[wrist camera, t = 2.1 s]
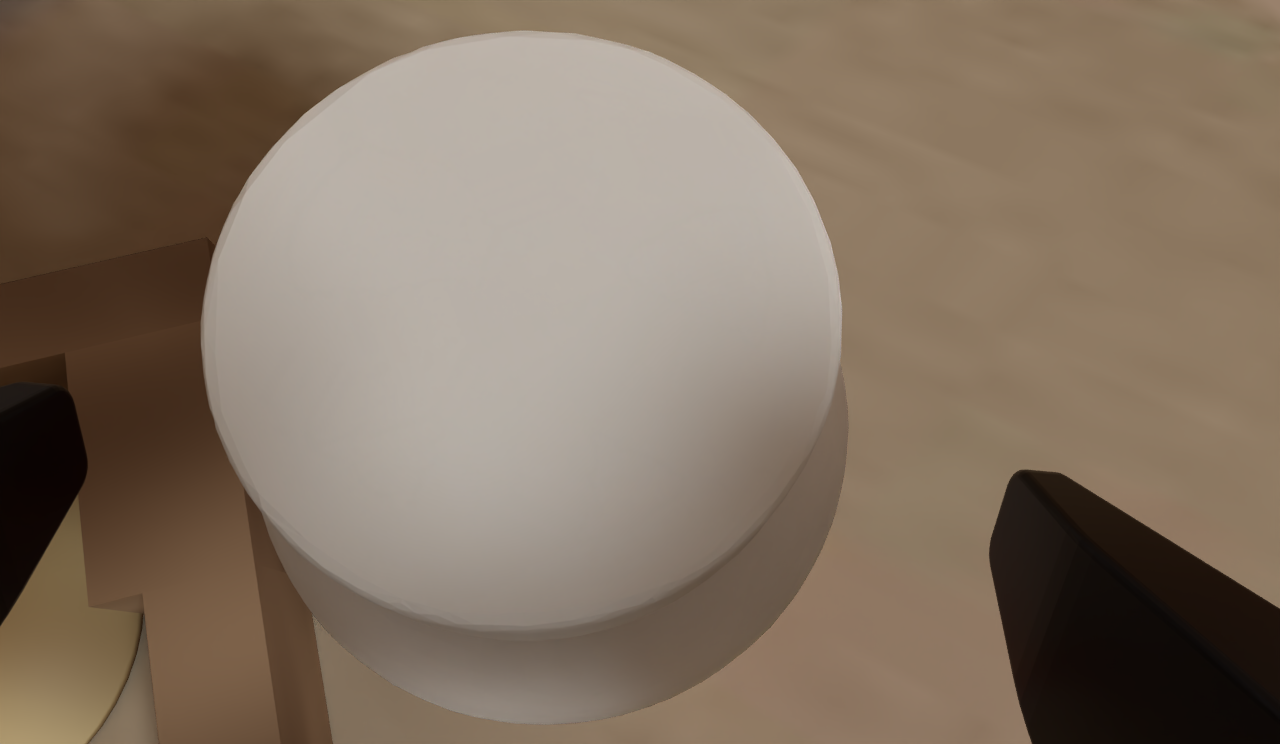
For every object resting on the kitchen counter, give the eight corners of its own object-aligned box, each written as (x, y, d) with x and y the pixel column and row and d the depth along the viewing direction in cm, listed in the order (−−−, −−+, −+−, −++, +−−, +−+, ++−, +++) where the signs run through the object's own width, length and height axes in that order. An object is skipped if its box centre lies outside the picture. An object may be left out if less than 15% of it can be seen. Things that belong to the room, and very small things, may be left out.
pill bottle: (351, 621, 17) (-110, 537, 6) (494, 318, 18) (325, -150, 8) (678, 758, 16) (790, 926, 6) (793, 433, 18) (1042, 93, 7)
